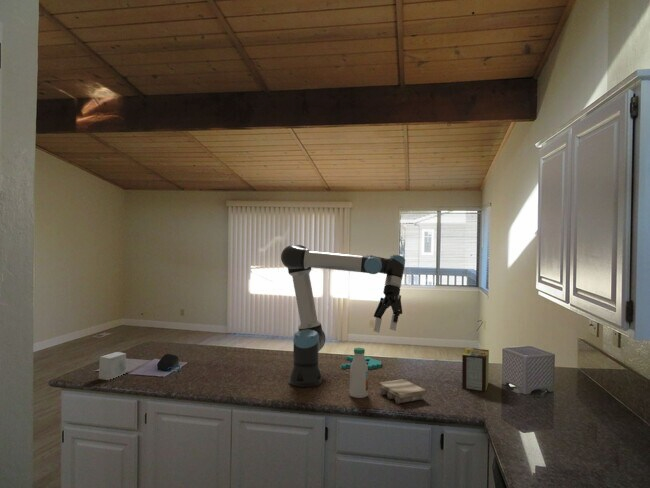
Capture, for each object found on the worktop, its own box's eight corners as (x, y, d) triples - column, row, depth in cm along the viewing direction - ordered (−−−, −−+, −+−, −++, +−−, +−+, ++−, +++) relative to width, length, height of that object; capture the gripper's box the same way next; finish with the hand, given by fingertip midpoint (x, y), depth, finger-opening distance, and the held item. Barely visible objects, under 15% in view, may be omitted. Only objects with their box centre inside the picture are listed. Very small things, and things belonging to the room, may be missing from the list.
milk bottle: (362, 399, 178) (363, 351, 178) (346, 396, 182) (347, 349, 182) (370, 394, 184) (371, 348, 185) (354, 391, 189) (355, 345, 189)
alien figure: (341, 369, 223) (379, 372, 219) (341, 365, 223) (379, 368, 219) (347, 359, 242) (382, 362, 238) (347, 355, 242) (382, 358, 238)
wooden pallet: (378, 393, 186) (378, 382, 187) (403, 389, 192) (403, 379, 192) (400, 405, 172) (400, 394, 172) (426, 400, 178) (426, 390, 178)
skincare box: (109, 380, 198) (109, 358, 198) (98, 379, 200) (98, 356, 200) (126, 374, 208) (126, 352, 208) (115, 372, 210) (116, 351, 210)
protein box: (488, 382, 204) (489, 349, 204) (486, 392, 190) (486, 357, 190) (465, 379, 208) (466, 347, 208) (461, 388, 194) (462, 354, 194)
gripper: (415, 285, 192) (407, 331, 184) (384, 293, 214) (376, 334, 206) (401, 279, 190) (392, 326, 182) (372, 288, 212) (363, 330, 204)
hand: (384, 330), depth 194 cm, fingers open, 13 cm apart
